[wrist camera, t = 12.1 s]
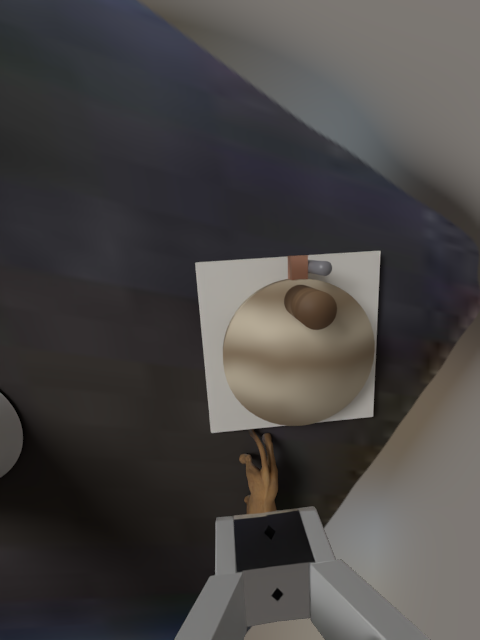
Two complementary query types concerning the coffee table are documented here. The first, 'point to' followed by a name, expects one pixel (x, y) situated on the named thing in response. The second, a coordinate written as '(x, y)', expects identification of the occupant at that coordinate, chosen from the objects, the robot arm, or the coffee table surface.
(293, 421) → the beige round knobbed piece
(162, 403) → the coffee table surface
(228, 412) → the post base
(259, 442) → the lion figurine
